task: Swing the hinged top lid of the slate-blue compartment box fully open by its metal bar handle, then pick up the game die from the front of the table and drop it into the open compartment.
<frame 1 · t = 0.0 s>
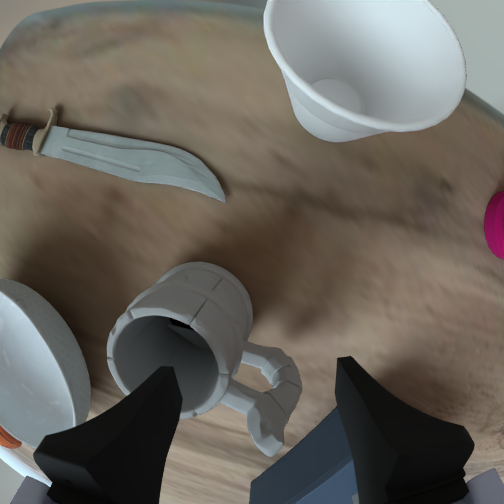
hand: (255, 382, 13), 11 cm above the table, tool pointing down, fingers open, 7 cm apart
cup: (331, 106, 21), on the table
pepper mill: (503, 224, 21), on the table
compartment: (339, 464, 25), on the table
mug: (227, 320, 23), on the table
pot: (14, 410, 27), on the table
cereal bowl: (45, 348, 25), on the table
knife: (86, 144, 22), on the table
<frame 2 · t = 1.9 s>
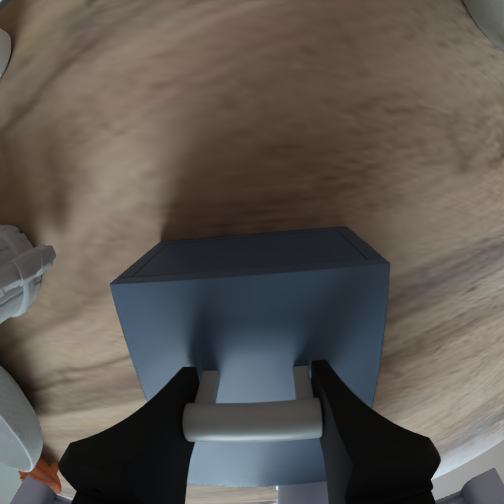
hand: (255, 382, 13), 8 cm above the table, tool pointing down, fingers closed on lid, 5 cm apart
lid: (259, 439, 12), point 9 cm above the table, hinge at -0.2°, touching gripper
compartment: (261, 338, 21), on the table
mug: (28, 259, 20), on the table
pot: (47, 459, 29), on the table
cereal bowl: (5, 385, 25), on the table
sugar bowl: (495, 12, 12), on the table
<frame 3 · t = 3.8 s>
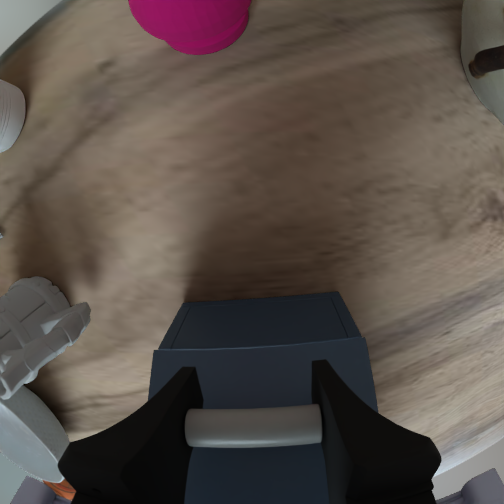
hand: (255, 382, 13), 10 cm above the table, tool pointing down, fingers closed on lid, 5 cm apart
cup: (8, 118, 19), on the table
lid: (258, 494, 10), point 14 cm above the table, hinge at 57.4°, touching gripper
pepper mill: (204, 20, 17), on the table
compartment: (267, 375, 24), on the table
mug: (60, 307, 24), on the table
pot: (69, 468, 33), on the table
cereal bowl: (33, 406, 29), on the table
sugar bowl: (494, 72, 16), on the table
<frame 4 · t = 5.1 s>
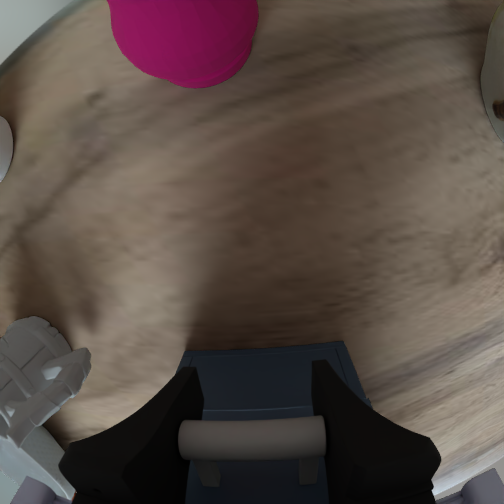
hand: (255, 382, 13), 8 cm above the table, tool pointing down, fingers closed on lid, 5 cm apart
pepper mill: (202, 46, 16), on the table
compartment: (269, 416, 23), on the table
mug: (60, 346, 23), on the table
cereal bowl: (36, 431, 28), on the table
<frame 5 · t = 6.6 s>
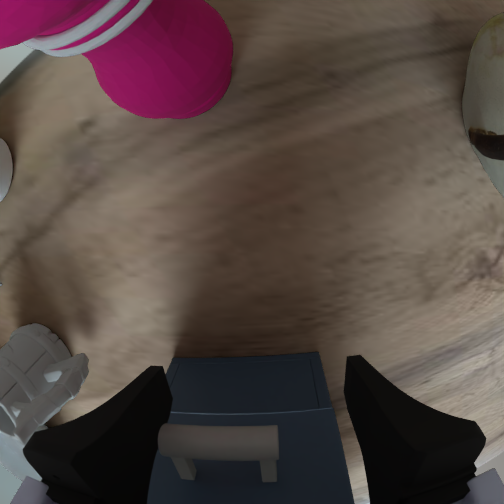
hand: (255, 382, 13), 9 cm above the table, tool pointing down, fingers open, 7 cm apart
pepper mill: (185, 75, 18), on the table
compartment: (252, 418, 25), on the table
mug: (60, 351, 25), on the table
cereal bowl: (37, 429, 30), on the table
sugar bowl: (497, 121, 17), on the table
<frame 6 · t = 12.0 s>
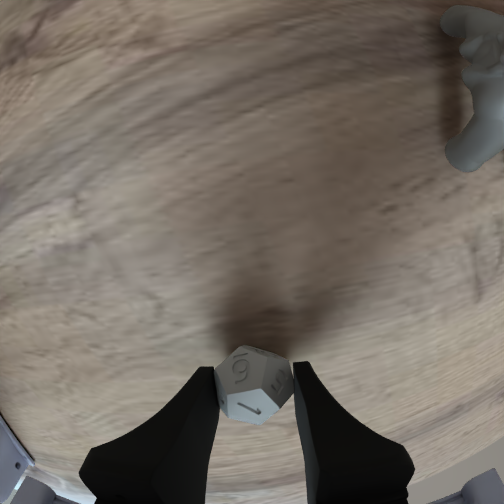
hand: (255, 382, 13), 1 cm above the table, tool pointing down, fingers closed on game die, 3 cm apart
game die: (253, 361, 14), on the table, touching gripper
when the fingers open (5 cm above the table, at t = 17.5 s): game die drops 3 cm, resting on compartment.
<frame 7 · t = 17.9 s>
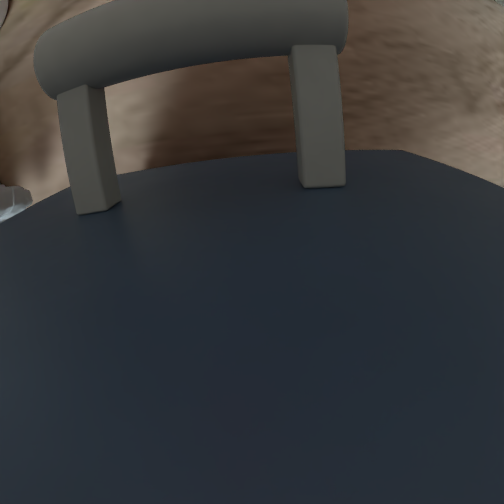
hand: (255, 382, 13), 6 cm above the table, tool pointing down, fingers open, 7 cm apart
lid: (105, 91, 2), point 15 cm above the table, hinge at 81.8°
mug: (7, 213, 17), on the table
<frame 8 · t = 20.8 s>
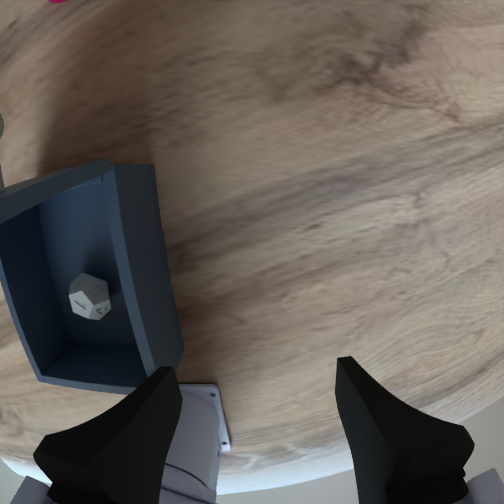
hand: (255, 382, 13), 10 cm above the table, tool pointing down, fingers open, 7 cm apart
compartment: (101, 268, 23), on the table
game die: (100, 288, 22), point 1 cm above the table, touching compartment
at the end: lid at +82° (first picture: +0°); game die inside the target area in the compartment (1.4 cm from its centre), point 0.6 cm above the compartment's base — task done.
